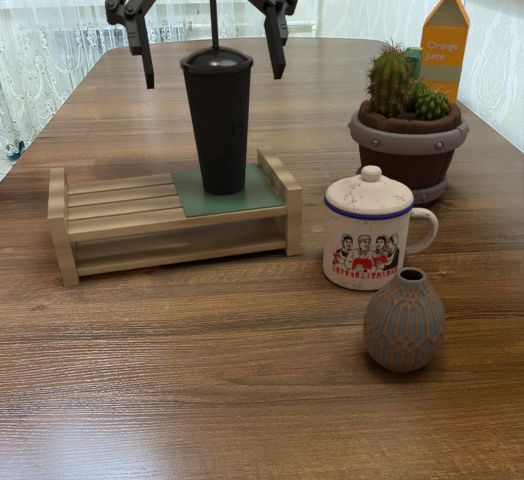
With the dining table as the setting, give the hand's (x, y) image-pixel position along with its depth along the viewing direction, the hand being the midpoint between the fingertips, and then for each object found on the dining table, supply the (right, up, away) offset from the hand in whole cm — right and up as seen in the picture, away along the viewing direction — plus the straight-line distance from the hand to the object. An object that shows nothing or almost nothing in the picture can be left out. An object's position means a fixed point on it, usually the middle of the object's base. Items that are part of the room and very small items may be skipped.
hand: (216, 77), depth 63 cm
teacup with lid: (+17, -20, +4) cm, 26 cm away
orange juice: (+37, +17, +52) cm, 66 cm away
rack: (-5, -15, +10) cm, 19 cm away
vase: (+17, -29, -8) cm, 35 cm away
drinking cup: (0, -9, +8) cm, 12 cm away
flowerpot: (+23, -7, +20) cm, 32 cm away
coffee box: (+28, +8, +40) cm, 50 cm away
